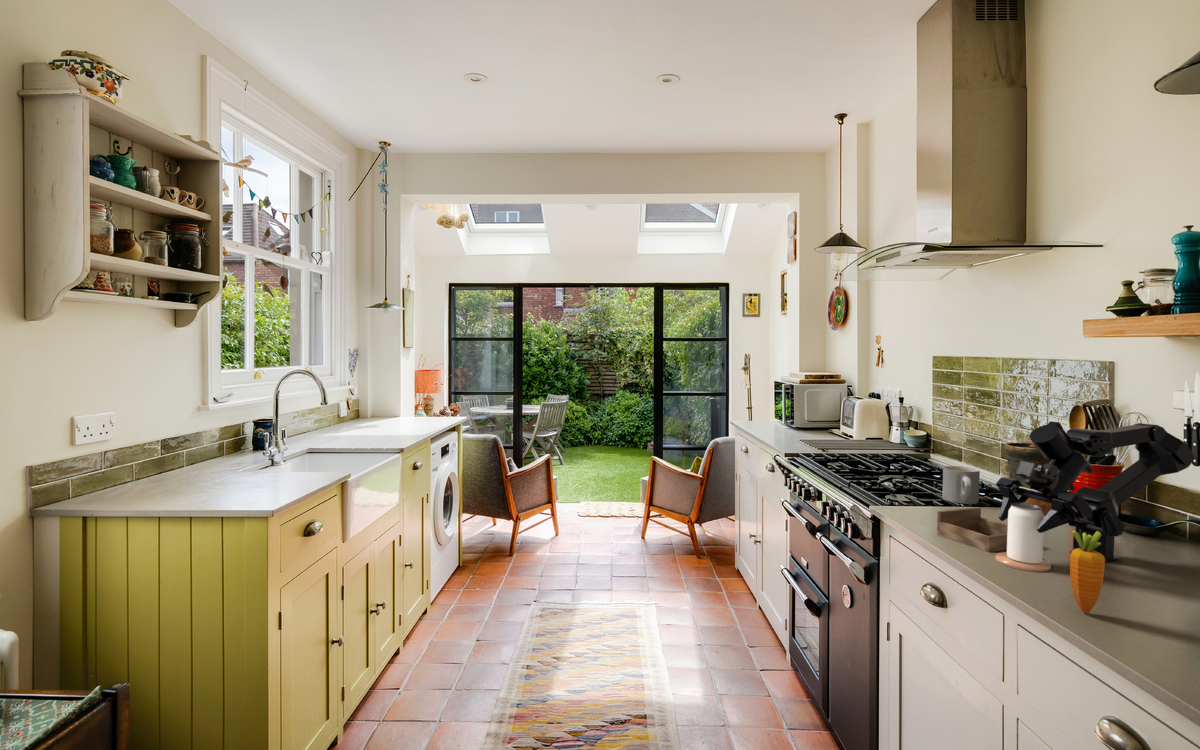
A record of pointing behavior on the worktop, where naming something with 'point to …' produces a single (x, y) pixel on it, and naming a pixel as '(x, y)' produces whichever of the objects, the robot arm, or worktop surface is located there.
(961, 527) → the open wooden tray
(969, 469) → the coffee mug
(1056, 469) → the robot arm
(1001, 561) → the saucer
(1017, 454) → the vessel
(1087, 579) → the carrot
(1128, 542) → the worktop surface
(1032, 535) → the can
